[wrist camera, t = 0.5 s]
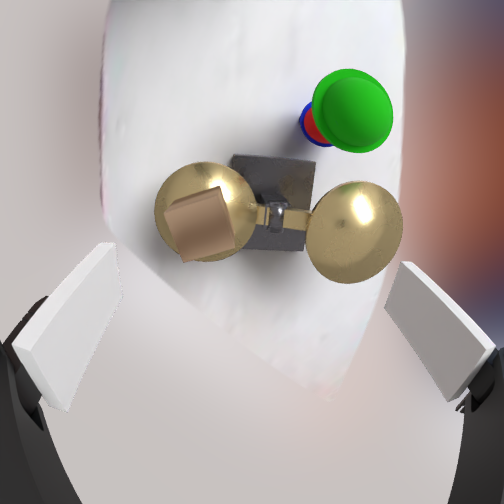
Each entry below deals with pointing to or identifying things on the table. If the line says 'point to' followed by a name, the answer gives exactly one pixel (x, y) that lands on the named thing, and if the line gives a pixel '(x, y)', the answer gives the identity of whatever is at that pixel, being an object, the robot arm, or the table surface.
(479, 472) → the robot arm
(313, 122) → the toy
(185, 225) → the walnut block
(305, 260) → the table surface
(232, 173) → the balance
